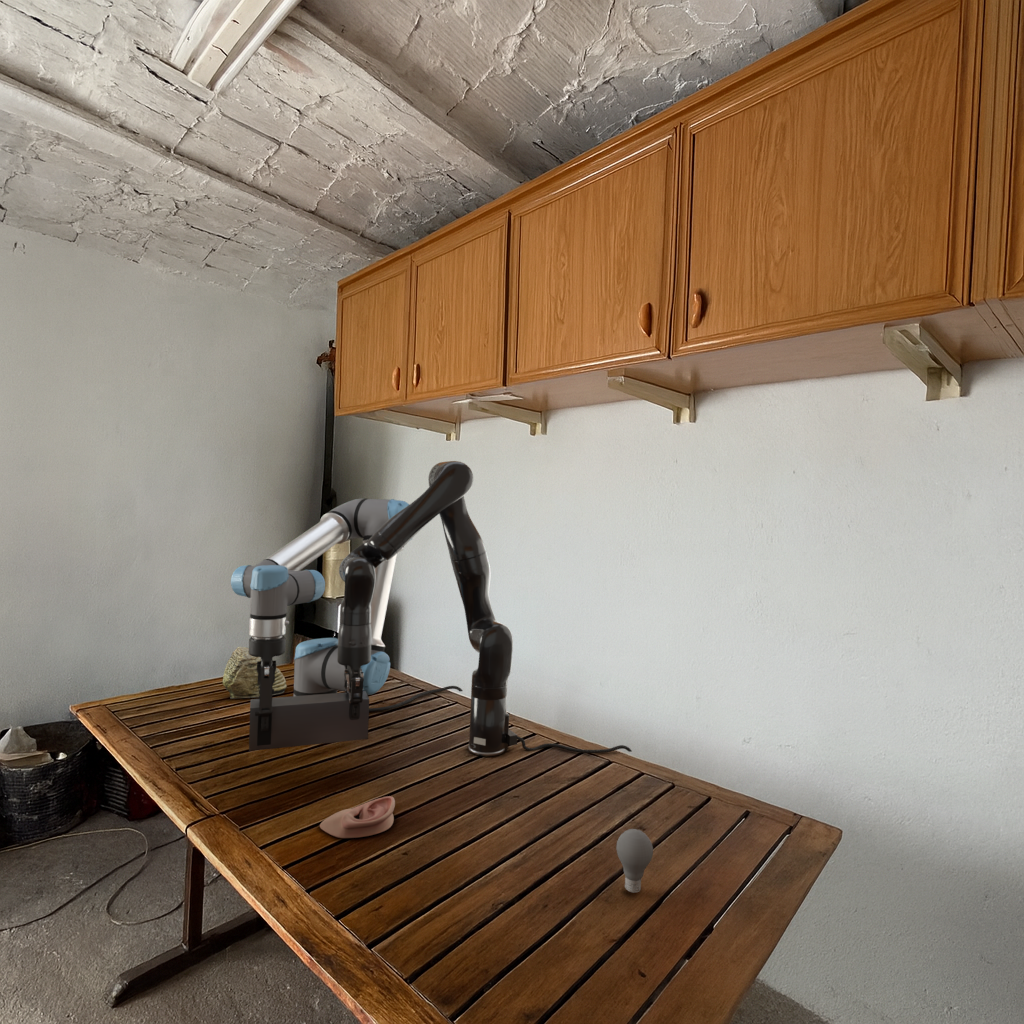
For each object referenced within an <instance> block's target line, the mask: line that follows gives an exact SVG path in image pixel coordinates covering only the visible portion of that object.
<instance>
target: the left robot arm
mask: <svg viewBox="0 0 1024 1024" xmlns="http://www.w3.org/2000/svg"><path fill="white" fill-rule="evenodd" d="M408 505H410V503H408V502H406V501H405V500H400V499H399V500H398V499H395V498H391V499H387V498H384V499H383V498H380V499H379V498H365V497H362V498H356V499H352V500H349V501H346V502H345V503H342V504H340V505H338V506H336V507H334V508H333V509H331V510H329V511H328V512H326V513H325V514H323V515H322V516H321V518H320V520H319V522H318V523H316V524H315V525H313V526H311V527H310V528H309V529H307V530H306V531H305V532H302V533H301V534H300V535H298V536H297V537H296V538H294V539H292V540H291V541H289V542H288V543H286V544H284V545H283V546H282V547H280V548H279V549H278V550H276V551H275V552H273V553H271V554H270V555H269V556H267V557H265V558H264V559H263V560H261V561H260V562H258V563H256V564H255V565H250V564H247V565H240V566H237V568H236V569H234V571H233V572H232V575H231V577H230V586H231V589H232V591H233V593H234V594H236V595H238V596H241V597H246V598H248V599H250V606H249V607H250V610H249V611H250V612H249V613H250V614H249V627H248V635H249V636H250V637H249V639H248V648H249V654H250V655H251V656H254V657H261V661H257V673H258V684H259V685H260V686H259V688H260V690H259V694H260V696H259V697H258V699H260V702H259V711H258V712H255V716H258V735H257V746H260V745H271V727H272V698H273V695H272V694H274V689H272V685H273V683H274V682H275V672H276V668H277V660H273V658H274V657H279V656H282V655H284V654H285V652H286V641H287V640H286V639H287V638H286V636H284V635H286V633H287V632H286V631H287V630H286V629H287V626H288V625H289V624H290V621H289V620H287V614H288V612H287V611H288V607H289V606H294V605H300V604H305V603H307V604H309V603H311V602H314V601H317V600H319V599H320V598H321V597H322V596H323V595H324V594H325V590H326V580H325V577H324V576H323V575H322V573H321V572H319V571H318V570H315V569H304V568H305V567H307V566H309V564H311V563H313V562H314V561H315V560H317V559H318V558H319V557H321V556H322V555H323V554H324V553H326V552H328V550H330V549H332V548H333V547H334V546H335V545H336V544H337V545H341V544H343V543H345V542H346V541H348V540H352V539H362V544H363V543H364V542H366V541H367V540H369V539H370V538H371V537H372V536H373V534H374V533H376V531H378V530H379V529H380V528H381V527H382V526H383V525H384V524H385V523H386V522H387V521H388V520H389V519H390V518H392V517H393V516H394V515H395V514H397V513H398V512H400V511H401V510H403V509H404V508H405V507H407V506H408ZM412 540H413V538H412V539H411V540H410V541H412ZM404 548H405V546H404V547H403V548H402V549H401V550H400V551H399V552H398V553H397V554H396V555H395V556H394V557H392V558H391V559H389V560H387V561H384V562H382V563H381V564H380V565H379V566H377V567H376V568H375V573H376V579H375V587H374V593H373V598H372V602H371V630H372V639H371V661H370V662H369V663H368V664H366V665H362V666H361V669H362V672H363V673H364V681H363V691H366V693H367V695H368V696H372V695H375V694H376V693H377V692H379V691H380V690H381V688H382V687H383V686H384V685H385V683H386V681H387V679H388V677H389V674H390V671H391V660H390V656H389V655H388V653H386V652H385V649H386V645H385V643H384V642H383V640H382V634H383V630H384V625H385V620H386V619H385V618H386V616H387V615H386V614H387V611H388V610H387V608H388V605H389V598H390V594H391V589H392V583H393V578H394V572H395V568H396V562H397V558H398V554H400V553H401V552H402V551H404ZM303 569H304V570H303ZM294 653H295V654H294V657H293V660H294V661H293V662H294V663H293V664H294V668H293V696H305V695H318V694H332V693H338V691H340V692H343V693H345V690H346V689H345V687H344V679H345V677H344V670H345V666H344V665H341V664H339V663H338V661H337V657H338V637H321V638H313V639H307V640H304V641H302V642H299V643H298V644H297V645H296V647H295V652H294ZM272 660H273V661H272ZM448 690H457V692H463V689H462V688H461V687H459V686H457V685H447V686H443V687H441V688H437V689H436V688H435V689H430V690H426V691H423V692H420V693H417V694H414V695H413V696H411V697H410V698H408V699H406V700H403V701H400V702H398V703H395V704H392V705H387V706H381V707H369V713H375V712H382V711H389V710H393V709H396V708H399V707H402V706H404V705H408V704H409V703H411V702H413V701H414V700H416V699H418V698H420V697H423V696H427V695H430V694H434V693H441V692H444V691H448ZM263 708H269V709H263Z"/></svg>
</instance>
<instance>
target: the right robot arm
mask: <svg viewBox="0 0 1024 1024" xmlns="http://www.w3.org/2000/svg"><path fill="white" fill-rule="evenodd" d="M427 479H428V488H427V489H426V490H425V491H424V492H423V493H422V494H421V495H419V496H418V498H416V499H415V500H414V501H412V502H410V503H409V505H408V506H407V507H405V508H404V509H403V510H401V511H400V512H398V513H397V514H395V515H394V516H393V517H392V518H390V519H389V520H388V521H387V522H386V523H385V524H384V525H383V526H382V527H381V528H380V529H379V530H378V531H376V533H374V534H373V536H372V537H371V538H370V539H369V540H367V541H366V542H364V543H363V542H362V543H361V544H360V545H358V546H357V547H356V548H354V549H353V550H352V551H351V552H350V553H348V554H347V555H346V556H345V557H344V558H343V559H342V561H341V562H340V564H339V567H338V574H339V577H340V579H341V580H342V581H343V582H344V591H343V599H342V600H341V602H340V605H339V627H338V633H337V639H338V657H337V661H338V663H339V664H341V665H344V666H345V670H344V677H345V679H344V687H345V689H346V690H345V692H347V693H349V702H350V711H349V718H350V720H357V719H359V718H360V703H362V701H363V699H362V696H363V681H364V673H363V672H362V669H361V666H362V665H366V664H368V663H369V662H370V661H371V639H372V630H371V602H372V598H373V593H374V587H375V579H376V573H375V568H376V567H377V566H379V565H380V564H381V563H382V562H384V561H387V560H389V559H391V558H392V557H394V556H395V555H396V554H397V553H398V552H399V551H400V550H401V549H402V548H403V547H404V548H405V546H406V545H407V544H408V543H409V542H410V541H412V540H413V538H414V537H415V536H416V535H417V534H419V532H420V531H421V530H422V529H424V527H425V526H427V525H428V524H429V523H430V522H431V521H432V520H434V519H435V518H436V517H437V516H438V515H439V517H440V520H441V524H442V528H443V535H444V537H445V541H446V545H447V549H448V555H449V558H450V563H451V566H452V571H453V574H454V577H455V581H456V584H457V588H458V591H459V595H460V598H461V601H462V604H463V609H464V614H465V620H466V627H467V634H468V638H469V643H470V645H471V647H472V648H473V649H474V651H475V652H477V653H478V665H477V668H476V669H474V670H473V671H472V674H471V691H470V692H471V693H470V713H469V733H468V736H469V737H468V746H467V747H468V751H469V752H470V753H471V754H473V755H476V756H480V757H497V756H500V755H502V754H503V753H505V752H508V751H509V746H515V745H518V741H519V742H521V747H522V749H523V750H525V751H526V752H533V751H538V750H541V749H544V748H557V749H561V750H565V751H568V752H572V753H579V754H608V753H611V752H614V751H617V750H626V751H627V752H629V753H631V752H633V750H632V749H631V747H629V746H627V745H623V744H619V745H616V746H612V747H610V748H605V749H604V748H603V749H602V748H601V749H581V748H574V747H569V746H566V745H563V744H559V743H543V744H540V745H537V746H535V747H528V746H526V741H525V739H524V738H522V736H521V737H520V736H518V734H517V733H515V732H514V731H513V730H511V729H510V714H509V713H508V712H507V707H508V705H507V703H508V681H509V677H510V674H511V673H512V665H513V652H514V638H513V637H514V636H513V633H512V631H511V629H510V628H509V626H507V625H506V624H504V623H502V622H499V621H498V620H497V619H496V616H495V613H494V610H493V607H492V603H491V597H490V585H491V565H490V561H489V557H488V553H487V549H486V546H485V543H484V540H483V539H482V536H481V535H480V532H479V531H478V529H477V527H476V525H475V523H474V522H473V521H472V518H471V517H470V514H469V511H468V508H467V505H466V499H465V495H467V494H468V493H469V492H470V491H471V489H472V487H473V484H474V473H473V472H472V469H471V468H470V466H469V465H468V464H466V463H465V462H463V461H459V460H458V461H457V460H449V461H441V462H438V463H436V464H435V465H433V466H432V467H431V469H430V471H429V474H428V478H427ZM411 539H412V540H411ZM399 553H400V552H399ZM399 553H398V554H399ZM398 554H397V555H398ZM345 692H344V693H345ZM355 693H358V697H355V698H354V694H355Z"/></svg>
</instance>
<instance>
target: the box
mask: <svg viewBox="0 0 1024 1024" xmlns="http://www.w3.org/2000/svg"><path fill="white" fill-rule="evenodd" d="M355 697H358V693H355V694H354V698H355ZM362 699H363V701H362V703H360V718H359V719H357V720H350V718H349V711H350V702H349V693H347V692H337V693H332V694H318V695H305V696H294V695H292V696H280V697H279V696H278V697H272V727H271V745H260V746H257V735H258V716H255V712H258V711H259V702H260V699H259V698H254V699H253V698H252V699H250V703H249V704H250V706H249V732H248V733H249V737H248V752H255V751H264V750H265V751H266V750H273V749H283V748H294V747H295V748H296V747H305V746H313V745H323V744H332V743H333V744H334V743H343V742H352V741H363V740H368V739H369V723H370V722H369V721H370V720H369V719H370V712H369V708H370V698H369V695H367V693H366V691H363V696H362ZM263 709H269V708H263Z"/></svg>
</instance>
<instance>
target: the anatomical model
mask: <svg viewBox="0 0 1024 1024" xmlns="http://www.w3.org/2000/svg"><path fill="white" fill-rule="evenodd" d="M395 806H396V799H395V797H393V796H392V795H391V796H390V795H389V796H388V795H387V796H383V797H379V798H376V799H372V800H369V801H367V802H365V803H362V804H360V805H358V806H355V807H352V808H346V809H345V808H344V809H342V810H340V811H337V812H335V813H333V814H331V815H329V816H328V817H327V818H325V819H324V820H322V821H321V823H320V824H319V828H320V829H321V830H322V831H324V832H325V833H326V834H329V835H331V836H333V837H335V838H339V839H354V838H355V839H356V838H363V837H369V836H373V835H377V834H381V833H383V832H385V831H387V830H389V829H390V828H391V827H392V826H393V824H394V820H395V817H394V814H393V813H394V810H395Z"/></svg>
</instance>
